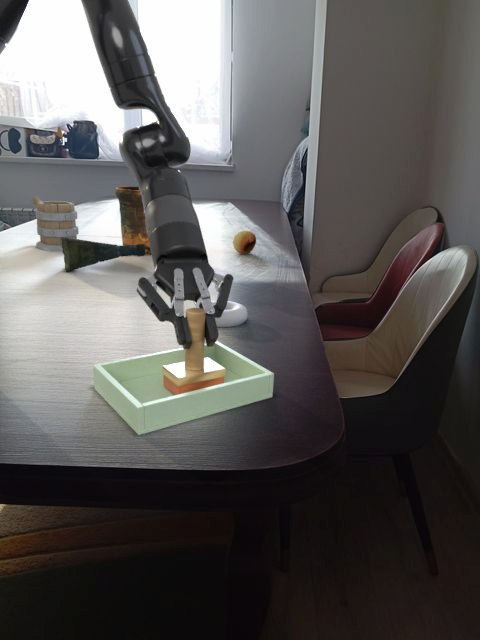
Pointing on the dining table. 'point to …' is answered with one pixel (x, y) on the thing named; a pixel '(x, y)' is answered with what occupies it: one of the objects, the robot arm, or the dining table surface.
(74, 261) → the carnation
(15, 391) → the dining table surface
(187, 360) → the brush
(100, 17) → the robot arm
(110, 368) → the tray
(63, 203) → the tankard
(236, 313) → the donut
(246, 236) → the fruit
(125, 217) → the vessel
